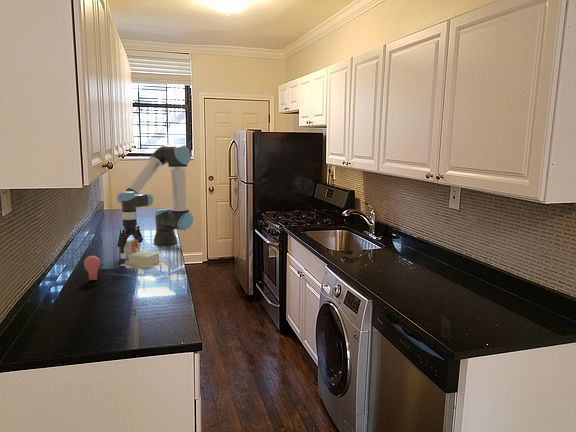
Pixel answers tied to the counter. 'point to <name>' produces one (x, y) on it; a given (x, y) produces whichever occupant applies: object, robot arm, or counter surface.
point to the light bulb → (92, 266)
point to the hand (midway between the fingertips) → (131, 256)
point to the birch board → (144, 266)
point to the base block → (144, 258)
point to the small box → (131, 247)
